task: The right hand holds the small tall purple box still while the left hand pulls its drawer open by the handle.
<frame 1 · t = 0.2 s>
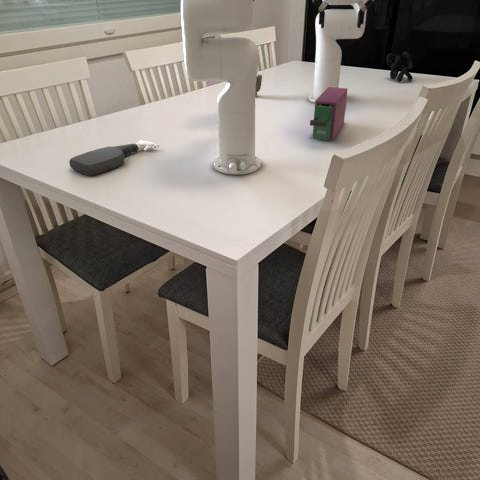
left hand: (232, 19, 141), 31 cm above the table, tool pointing down, fingers open, 9 cm apart
right hand: (340, 27, 120), 31 cm above the table, tool pointing down, fingers open, 9 cm apart
drawer: (326, 118, 136), point 6 cm above the table, slide at 1.4 cm
squiggle: (399, 80, 200), on the table
tall purple box: (328, 130, 143), on the table
cup: (252, 96, 181), on the table
spray bottle: (117, 159, 125), on the table
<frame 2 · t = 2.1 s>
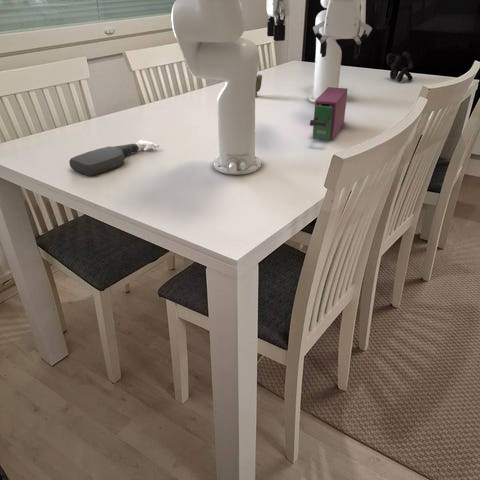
left hand: (275, 38, 130), 27 cm above the table, tool pointing down, fingers open, 9 cm apart
right hand: (339, 57, 136), 21 cm above the table, tool pointing down, fingers open, 9 cm apart
nothing on the table moved.
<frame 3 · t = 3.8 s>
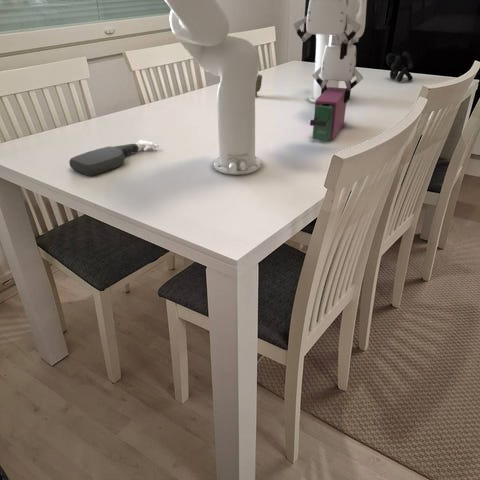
left hand: (324, 57, 120), 24 cm above the table, tool pointing down, fingers open, 9 cm apart
right hand: (335, 100, 143), 8 cm above the table, tool pointing down, fingers closed on tall purple box, 6 cm apart
tall purple box: (328, 130, 143), on the table, touching right hand
everything else where it was.
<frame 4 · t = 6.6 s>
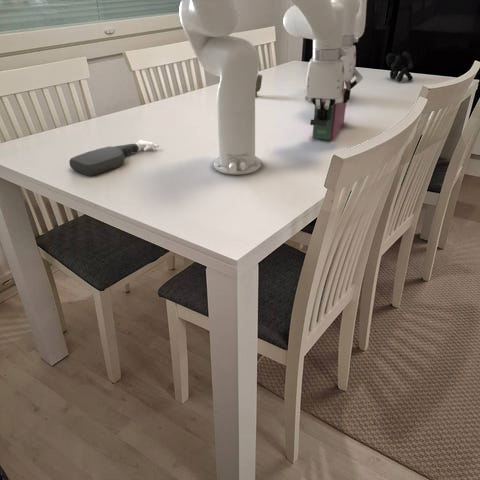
left hand: (322, 121, 129), 7 cm above the table, tool pointing down, fingers closed
right hand: (334, 100, 143), 8 cm above the table, tool pointing down, fingers closed on tall purple box, 6 cm apart
drawer: (326, 117, 136), point 6 cm above the table, slide at 0.8 cm, touching left hand
tall purple box: (328, 130, 143), on the table, touching right hand
everything else where it was.
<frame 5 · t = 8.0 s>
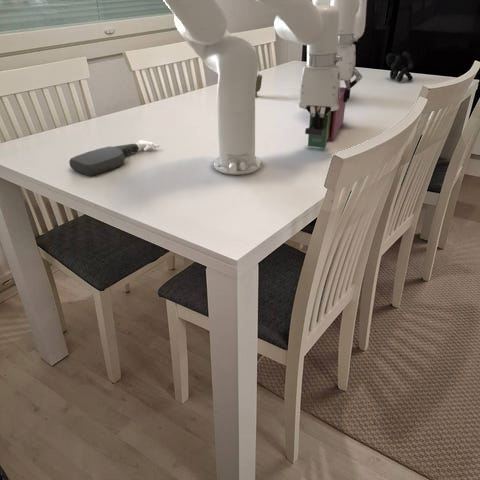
left hand: (317, 129, 124), 7 cm above the table, tool pointing down, fingers closed
right hand: (334, 100, 143), 8 cm above the table, tool pointing down, fingers closed on tall purple box, 6 cm apart
drawer: (321, 124, 130), point 6 cm above the table, slide at 7.7 cm, touching left hand
tall purple box: (328, 130, 143), on the table, touching right hand
everything else where it was.
when the right hand's fingers open (8 cm above the table, at t = 9.5 s): tall purple box stays where it is, on the table.
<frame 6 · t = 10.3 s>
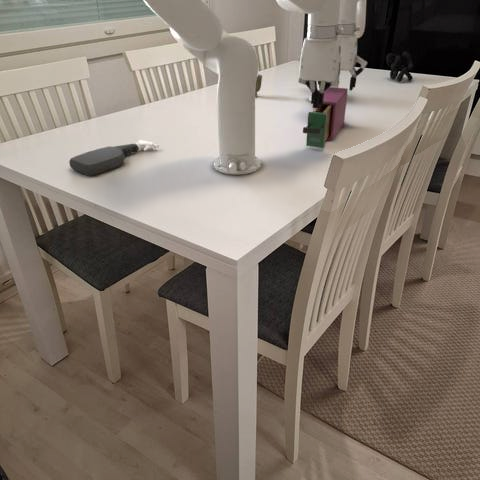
left hand: (316, 106, 121), 13 cm above the table, tool pointing down, fingers closed
right hand: (335, 88, 142), 12 cm above the table, tool pointing down, fingers open, 9 cm apart
drawer: (320, 124, 130), point 6 cm above the table, slide at 8.3 cm
tall purple box: (328, 130, 143), on the table
everything else where it was.
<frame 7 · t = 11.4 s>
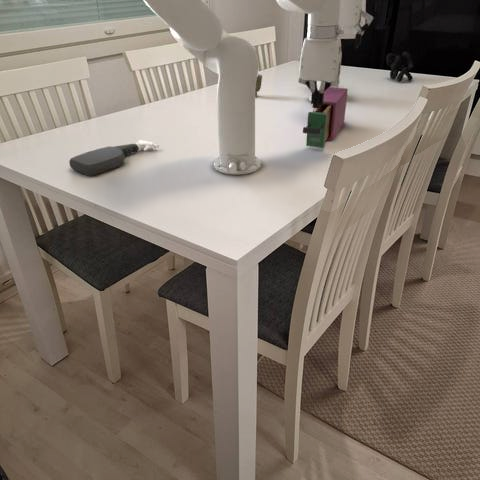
left hand: (316, 106, 121), 13 cm above the table, tool pointing down, fingers closed
right hand: (340, 47, 135), 24 cm above the table, tool pointing down, fingers open, 9 cm apart
nothing on the table moved.
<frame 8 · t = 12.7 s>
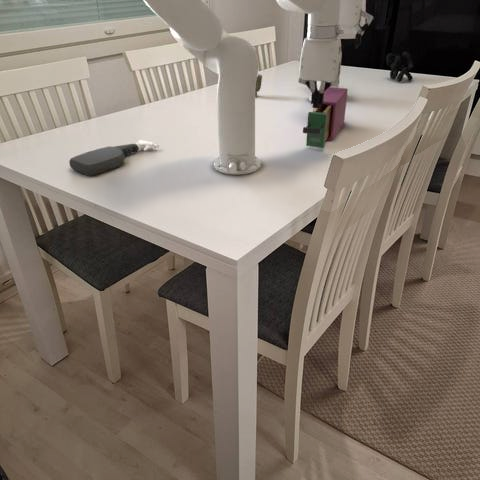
left hand: (316, 106, 121), 13 cm above the table, tool pointing down, fingers closed
right hand: (340, 47, 135), 24 cm above the table, tool pointing down, fingers open, 9 cm apart
nothing on the table moved.
at the end: drawer slide at 8.3 cm; tall purple box tilted 0°; tall purple box never tilted more than 2° during the clip; tall purple box moved 0.1 cm from its start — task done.
